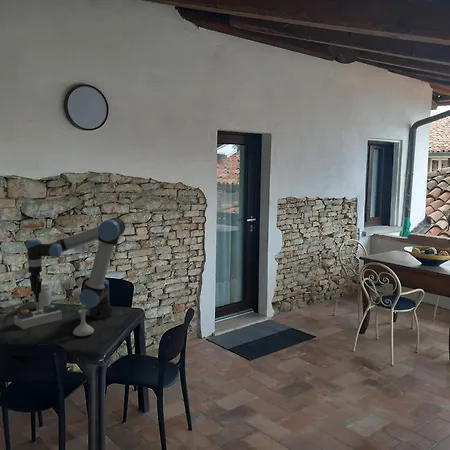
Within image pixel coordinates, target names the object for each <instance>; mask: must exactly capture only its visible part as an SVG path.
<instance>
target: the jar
mask: <svg viewBox="0 0 450 450" xmlns="http://www.w3.org/2000/svg"><path fill="white" fill-rule="evenodd" d="M51 287H52V285H50V284H41V293H39V300H40V301H39V309H40V310H43V307H44V306H49V305H51V301H52V289H51Z"/></svg>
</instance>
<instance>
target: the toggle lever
mask: <svg viewBox="0 0 450 450" xmlns="http://www.w3.org/2000/svg"><path fill="white" fill-rule="evenodd" d="M39 301H40V300H39V299H36V304H35V305H36V311H37V312H40V309H39Z"/></svg>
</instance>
